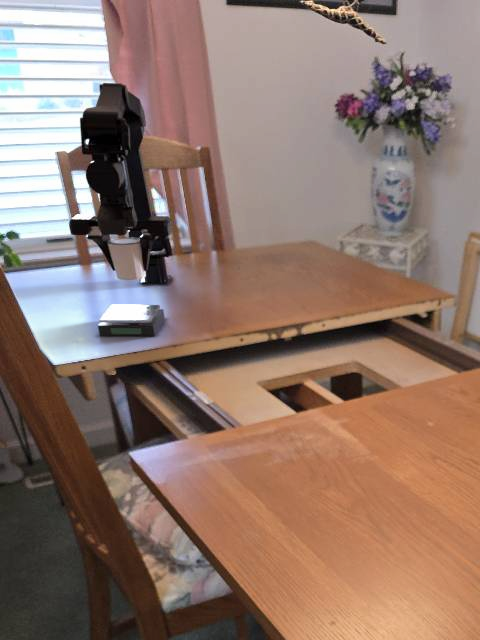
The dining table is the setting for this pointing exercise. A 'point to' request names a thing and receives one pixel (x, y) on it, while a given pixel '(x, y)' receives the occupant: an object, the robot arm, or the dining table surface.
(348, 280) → the dining table surface
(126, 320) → the scale pan
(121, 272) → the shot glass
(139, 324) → the scale
